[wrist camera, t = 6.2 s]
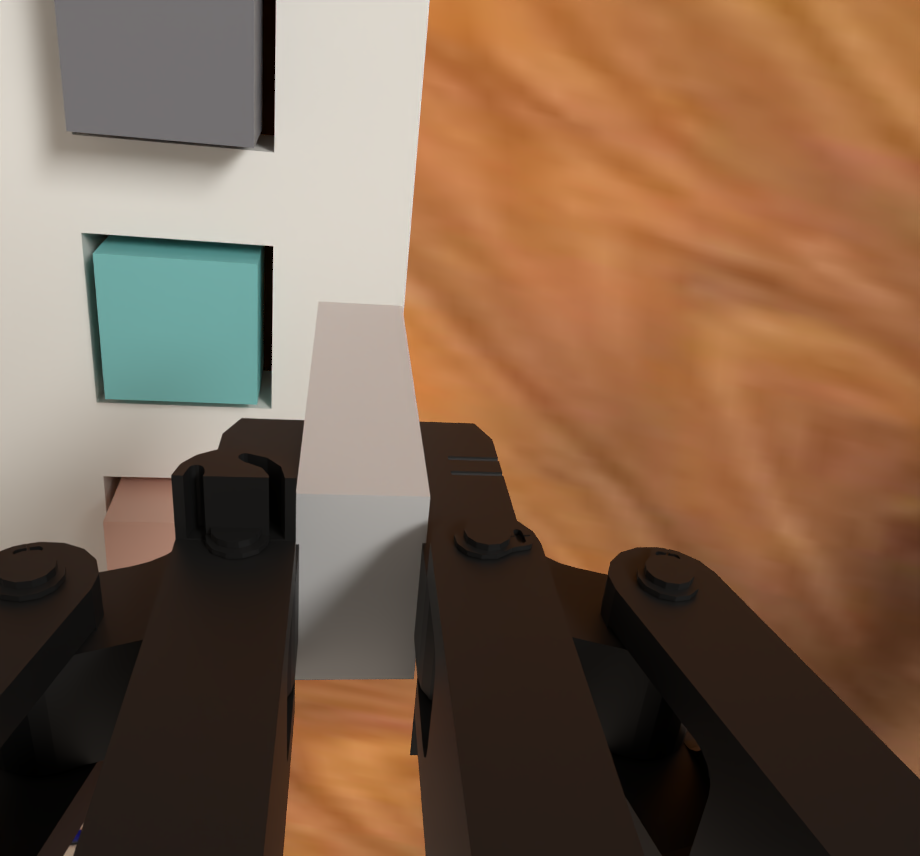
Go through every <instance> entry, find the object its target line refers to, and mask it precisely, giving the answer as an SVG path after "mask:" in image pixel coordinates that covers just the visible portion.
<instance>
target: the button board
mask: <svg viewBox="0 0 920 856" xmlns="http://www.w3.org/2000/svg"><path fill="white" fill-rule="evenodd" d="M429 1H430V0H276V47H275V136H274V135H263V134H260V136H259V138H258V140H257V142H256V144H255V147H254V148H249V147H238V146H226V145H215V144H204V143H193V142H182V141H170V140H159V139H148V138H137V137H126V136H114V135H103V134H92V133H81V132H69V131H66V122H65V111H64V100H63V90H62V79H61V68H60V58H59V47H58V36H57V26H56V15H55V4H54V0H0V551H2V550H4V549H7V548H10V547H12V546H17V545H22V544H29V543H35V542H59V543H67V544H70V545H74V546H77V547H80V548H83V549H85V550H86V551H87V552H89V553H90V554H91V555H92V556H93V557H94V558H95V559H96V560H97V565H98V570H99V572H103V571H108V570H107V560H106V549H105V538H104V528H103V521H104V518H105V516H106V513H107V511H108V509H109V506H110V504H111V502H112V499H113V497H114V494H115V492H116V490H117V487H118V485H119V482H120V480H121V478H122V477H156V478H171V475H172V473H173V472H174V471H175V470H176V468H177V467H178V466H179V465H180V464H181V463H182V462H184V461H186V460H188V459H190V458H192V457H193V456H195V455H197V454H201V453H205V452H209V451H213V450H217V449H218V447H219V443H220V440H221V437H222V434H223V433H224V432H225V431H226V430H227V429H229V428H230V427H231V426H232V425H234V424H235V423H236V422H237V421H238V420H240V419H241V418H256V419H285V420H305V412H306V403H307V395H308V387H309V378H310V370H311V361H312V353H313V345H314V336H315V328H316V319H317V311H318V302H319V301H320V302H339V303H357V304H376V305H394V306H402V309H403V313H404V301H405V289H406V277H407V265H408V253H409V241H410V229H411V217H412V205H413V193H414V181H415V169H416V157H417V145H418V133H419V121H420V109H421V97H422V85H423V73H424V61H425V49H426V37H427V25H428V13H429ZM108 235H122V236H136V237H150V238H165V239H179V240H193V241H208V242H222V243H236V244H251V245H265V246H273V319H272V371H263V373H262V379H261V385H260V391H259V397H258V403H257V405H251V404H224V403H198V402H171V401H144V400H118V399H105V392H104V380H103V369H102V357H101V345H100V334H99V322H98V310H97V299H96V287H95V275H94V264H93V253H94V251H95V250H96V249H97V248H98V247H99V246H100V245H101V244H102V242H103V241H104V240H105V239H106V238H107V237H108Z"/></svg>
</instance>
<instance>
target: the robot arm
mask: <svg viewBox="0 0 920 856" xmlns="http://www.w3.org/2000/svg"><path fill="white" fill-rule="evenodd" d="M171 482H172V496H173V510H174V525H175V542H174V545H173V548H172V551H171V552H170V553H168V554H167V555H164V556H162V557H160V558H157V559H155V560H152V561H150V562H146V563H142V564H138V565H134V566H130V567H125V568H119V569H114V570H108V571H103V572H99V570H98V565H97V560H96V559H95V558H94V557H93V556H92V555H91V554H90V553H89V552H87V551H86V550H85V549H83V548H80V547H77V546H74V545H70V544H67V543H59V542H35V543H29V544H22V545H17V546H12V547H10V548H7V549H4V550H2V551H0V856H64V854H65V852H66V851H67V849H68V848H69V846H70V844H71V843H72V841H73V839H74V838H75V836H76V834H77V833H78V831H79V830H80V828H81V826H82V825H83V827H82V830H81V833H80V836H79V839H78V842H77V845H76V848H75V851H74V854H73V856H283V848H284V836H285V824H286V811H287V799H288V786H289V774H290V762H291V749H292V737H293V725H294V712H295V680H333V679H414V670H415V659H416V666H417V688H416V698H415V709H414V720H413V730H412V741H411V751H410V755H418V762H419V775H420V787H421V800H422V813H423V826H424V838H425V851H426V856H920V779H919V778H918V777H917V776H916V775H915V774H914V773H913V772H912V771H911V770H910V769H909V768H908V767H907V766H906V765H905V764H904V763H903V762H902V761H901V760H900V759H899V758H898V757H897V756H896V755H895V754H894V753H893V752H892V751H891V750H890V749H889V748H888V747H887V746H886V745H885V744H884V743H883V742H882V741H881V740H880V739H879V738H878V737H877V736H876V735H875V734H874V733H873V732H872V731H871V730H870V729H869V728H868V727H867V726H866V725H865V724H864V723H863V721H862V720H861V719H860V718H859V717H858V716H857V715H856V714H855V713H854V712H853V711H852V710H851V709H850V708H849V707H848V706H847V705H846V704H845V703H844V702H843V701H842V700H841V699H840V698H839V697H838V696H837V695H836V694H835V693H834V692H833V691H832V690H831V689H830V688H829V687H828V686H827V685H826V684H825V683H824V682H823V681H822V680H821V679H820V678H819V677H818V676H817V675H816V674H815V673H814V672H813V671H812V670H811V669H810V668H809V667H808V666H807V665H806V664H805V663H804V662H803V661H802V660H801V659H800V658H799V657H798V656H797V655H796V654H795V653H794V652H793V651H792V650H791V649H790V648H789V647H788V646H787V645H786V644H785V643H784V642H783V641H782V640H781V639H780V638H779V637H778V636H777V635H776V634H775V633H774V632H773V631H772V630H771V629H770V628H769V627H768V626H767V625H766V624H765V623H764V622H763V621H762V620H761V619H760V618H759V617H758V616H757V615H756V614H755V613H754V612H753V611H752V610H751V609H750V608H749V607H748V606H747V605H746V604H745V602H744V601H743V600H742V599H741V598H740V597H739V596H738V595H737V594H736V593H735V592H734V591H733V590H732V589H731V588H730V587H729V586H728V585H727V584H726V583H725V582H724V581H723V580H722V579H721V578H720V577H719V576H718V575H717V574H716V573H715V572H713V571H712V570H711V569H709V568H708V567H707V566H705V565H704V564H703V563H701V562H700V561H698V560H696V559H694V558H691V557H689V556H687V555H685V554H682V553H680V552H677V551H674V550H670V549H669V550H667V549H664V548H658V547H644V548H634V549H631V550H627V551H624V552H621V553H620V554H618V555H617V556H616V557H615V558H614V559H613V560H612V561H611V562H610V567H609V571H608V575H606V574H601V573H597V572H592V571H588V570H583V569H578V568H575V567H571V566H568V565H564V564H561V563H558V562H556V561H554V560H552V559H550V558H547V557H545V554H544V551H543V548H542V545H541V543H540V541H539V540H538V538H537V537H536V535H535V534H534V532H533V531H531V530H530V529H528V528H527V527H526V526H524V525H523V524H521V523H520V522H518V521H517V519H516V516H515V513H514V510H513V506H512V503H511V500H510V496H509V493H508V490H507V487H506V483H505V480H504V477H503V476H502V470H501V467H500V464H499V461H498V457H497V454H496V451H495V447H494V444H493V441H492V439H491V438H490V437H489V436H487V435H486V434H485V433H484V432H483V431H482V430H481V429H480V428H479V427H477V426H476V425H475V424H470V423H442V422H419V417H418V410H417V403H416V397H415V390H414V383H413V377H412V370H411V363H410V356H409V350H408V343H407V336H406V329H405V323H404V316H403V309H402V306H394V305H376V304H357V303H339V302H320V301H319V302H318V311H317V319H316V328H315V336H314V345H313V353H312V361H311V370H310V378H309V387H308V395H307V403H306V412H305V420H285V419H256V418H241V419H240V420H238V421H237V422H236V423H235V424H234V425H232V426H231V427H230V428H229V429H227V430H226V431H225V432H224V433H223V434H222V437H221V440H220V443H219V447H218V449H217V450H213V451H209V452H205V453H201V454H197V455H195V456H193V457H192V458H190V459H188V460H186V461H184V462H182V463H181V464H180V465H179V466H178V467H177V468H176V470H175V471H174V472H173V473H172V475H171Z"/></svg>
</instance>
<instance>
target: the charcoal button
mask: <svg viewBox="0 0 920 856" xmlns="http://www.w3.org/2000/svg"><path fill="white" fill-rule="evenodd" d="M54 4H55V15H56V26H57V36H58V47H59V58H60V68H61V79H62V90H63V100H64V111H65V122H66V131H69V132H81V133H92V134H103V135H114V136H126V137H137V138H148V139H159V140H170V141H182V142H193V143H204V144H215V145H226V146H238V147H249V148H254V147H255V144H256V142H257V140H258V138H259V136H260V133H261V131H262V92H263V0H54Z"/></svg>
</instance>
